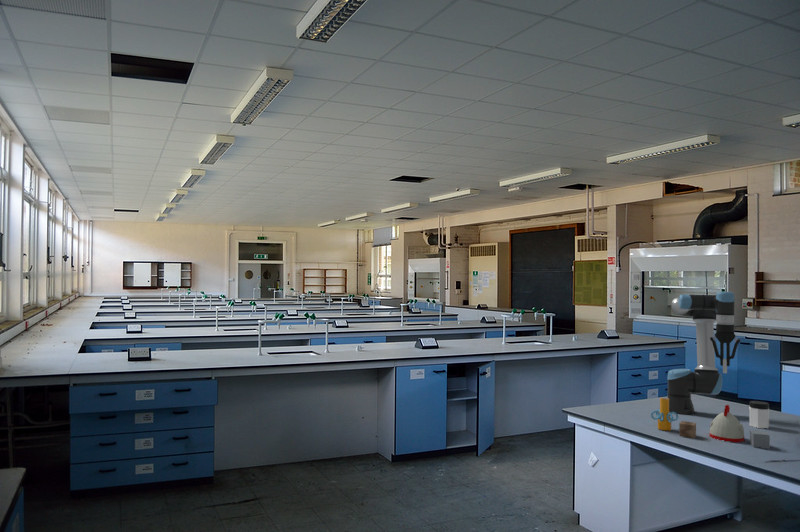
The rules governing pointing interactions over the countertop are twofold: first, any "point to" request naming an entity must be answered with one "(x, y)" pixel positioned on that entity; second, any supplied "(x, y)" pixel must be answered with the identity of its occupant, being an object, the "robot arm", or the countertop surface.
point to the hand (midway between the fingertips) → (724, 372)
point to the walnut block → (687, 429)
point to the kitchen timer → (727, 427)
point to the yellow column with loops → (664, 415)
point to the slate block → (759, 439)
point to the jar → (759, 414)
